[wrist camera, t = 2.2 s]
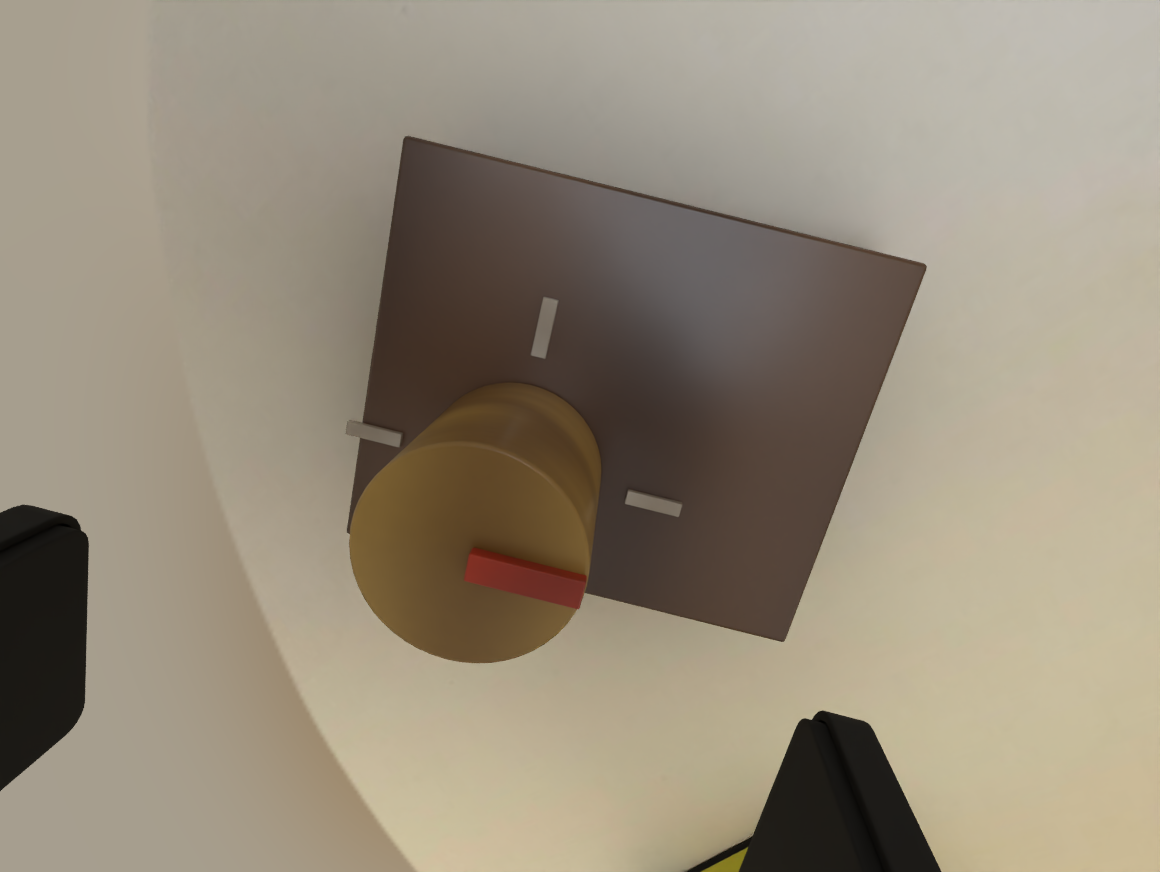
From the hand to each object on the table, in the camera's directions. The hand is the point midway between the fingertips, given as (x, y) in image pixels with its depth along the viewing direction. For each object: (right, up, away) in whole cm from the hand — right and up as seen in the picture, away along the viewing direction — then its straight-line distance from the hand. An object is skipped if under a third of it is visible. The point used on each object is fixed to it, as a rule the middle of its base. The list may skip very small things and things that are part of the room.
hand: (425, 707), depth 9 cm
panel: (+3, +5, +11) cm, 12 cm away
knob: (0, +3, +8) cm, 9 cm away
